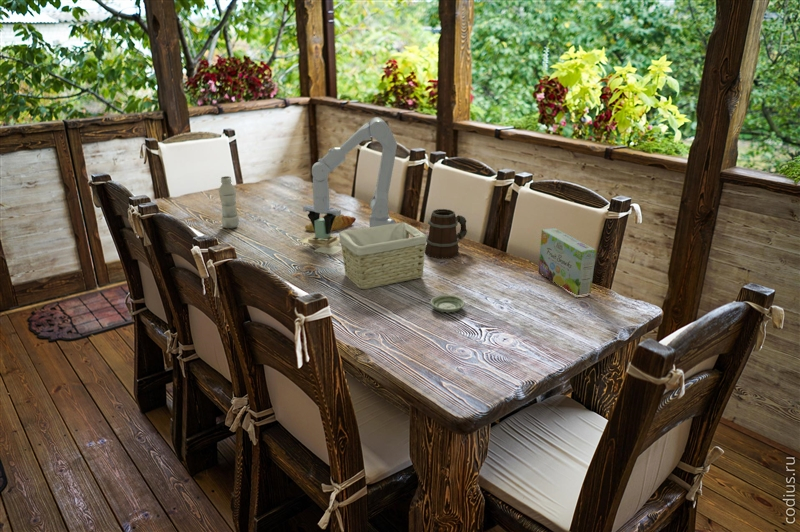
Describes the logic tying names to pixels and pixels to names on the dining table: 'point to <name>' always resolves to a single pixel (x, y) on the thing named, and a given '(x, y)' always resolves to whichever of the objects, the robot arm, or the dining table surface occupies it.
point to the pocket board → (322, 241)
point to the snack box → (566, 261)
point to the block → (320, 229)
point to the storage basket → (383, 254)
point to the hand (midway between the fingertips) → (322, 232)
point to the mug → (444, 234)
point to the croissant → (336, 222)
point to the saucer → (447, 303)
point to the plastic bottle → (228, 203)
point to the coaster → (329, 249)
